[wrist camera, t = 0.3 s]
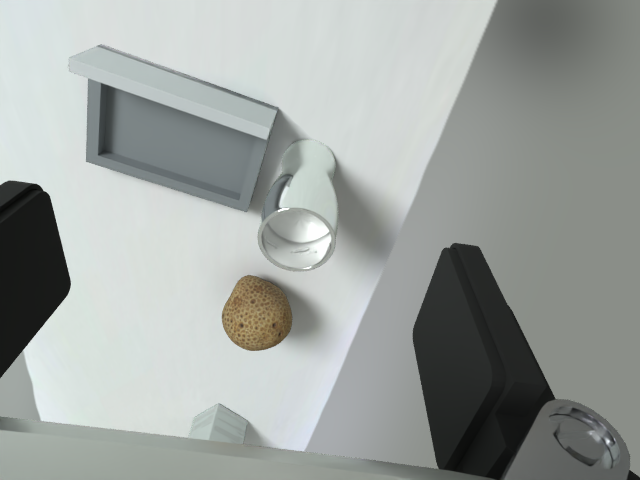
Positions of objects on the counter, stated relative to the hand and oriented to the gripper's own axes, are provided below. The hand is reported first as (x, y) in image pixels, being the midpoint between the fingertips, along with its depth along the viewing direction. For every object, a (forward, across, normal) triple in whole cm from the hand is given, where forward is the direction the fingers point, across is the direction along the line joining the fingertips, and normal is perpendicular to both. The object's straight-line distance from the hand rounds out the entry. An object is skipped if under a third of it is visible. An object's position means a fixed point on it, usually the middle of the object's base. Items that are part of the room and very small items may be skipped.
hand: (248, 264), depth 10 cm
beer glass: (+36, -1, +13) cm, 38 cm away
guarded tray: (+36, +13, +11) cm, 40 cm away
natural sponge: (+37, +3, +33) cm, 49 cm away
